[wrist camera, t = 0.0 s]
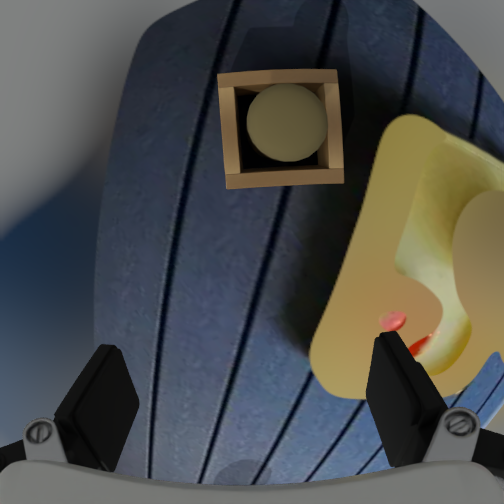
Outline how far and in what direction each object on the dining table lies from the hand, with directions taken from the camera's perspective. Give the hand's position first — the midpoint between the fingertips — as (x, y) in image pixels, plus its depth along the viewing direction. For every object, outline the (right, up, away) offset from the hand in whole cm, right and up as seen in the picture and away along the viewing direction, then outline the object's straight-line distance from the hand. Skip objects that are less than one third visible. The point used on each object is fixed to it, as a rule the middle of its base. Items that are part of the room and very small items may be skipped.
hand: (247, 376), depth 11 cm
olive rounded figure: (+3, +16, +17) cm, 24 cm away
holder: (+3, +16, +17) cm, 23 cm away
